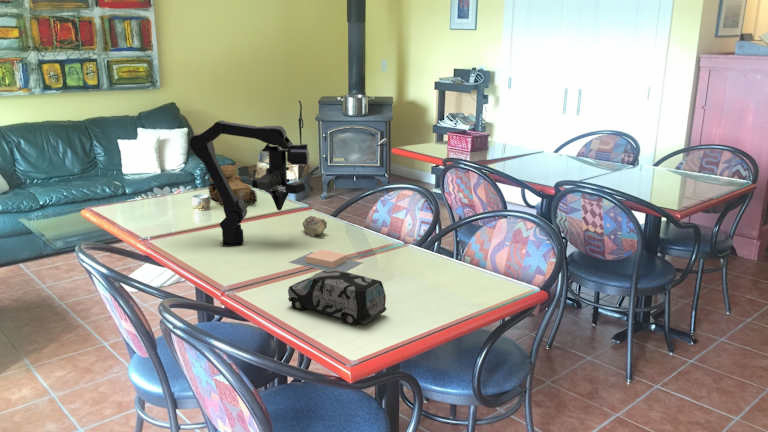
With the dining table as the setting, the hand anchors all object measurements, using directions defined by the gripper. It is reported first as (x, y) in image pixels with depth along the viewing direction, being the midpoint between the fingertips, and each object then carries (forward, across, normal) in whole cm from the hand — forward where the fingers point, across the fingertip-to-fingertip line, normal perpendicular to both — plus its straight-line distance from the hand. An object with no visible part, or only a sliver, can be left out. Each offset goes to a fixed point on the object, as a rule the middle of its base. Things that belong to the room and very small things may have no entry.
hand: (279, 210), depth 215 cm
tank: (+12, -56, +36) cm, 68 cm away
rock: (+12, +3, +15) cm, 20 cm away
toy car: (+12, +49, -37) cm, 62 cm away
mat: (+12, +25, -8) cm, 29 cm away
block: (+10, +20, -8) cm, 24 cm away
